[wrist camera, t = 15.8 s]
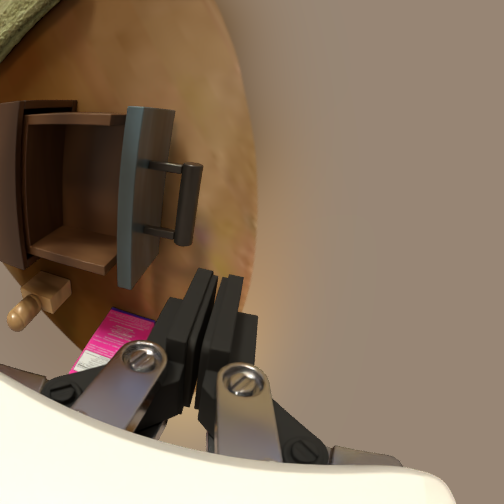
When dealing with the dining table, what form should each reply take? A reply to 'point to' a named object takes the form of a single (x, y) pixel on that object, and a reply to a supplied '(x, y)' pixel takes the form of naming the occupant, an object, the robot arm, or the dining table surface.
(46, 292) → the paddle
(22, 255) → the cabinet
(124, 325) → the supplement box
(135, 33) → the dining table surface
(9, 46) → the washcloth
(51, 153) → the drawer
